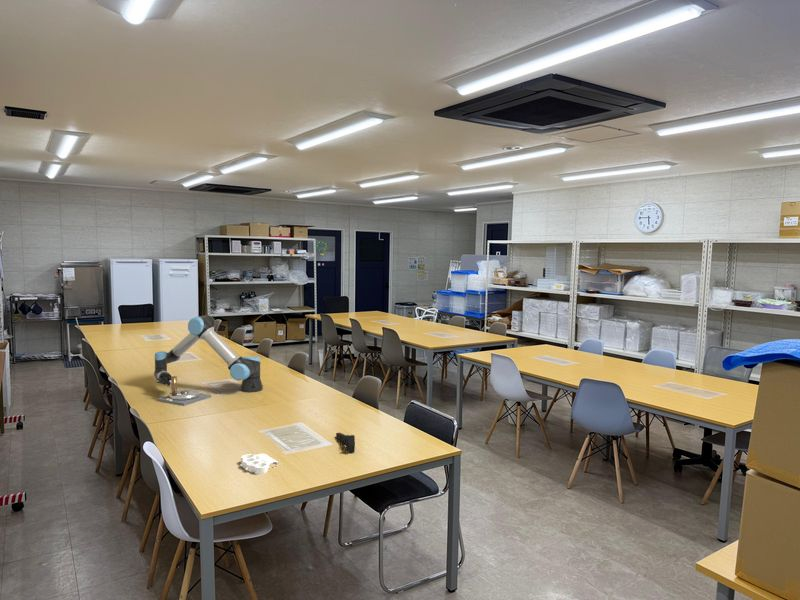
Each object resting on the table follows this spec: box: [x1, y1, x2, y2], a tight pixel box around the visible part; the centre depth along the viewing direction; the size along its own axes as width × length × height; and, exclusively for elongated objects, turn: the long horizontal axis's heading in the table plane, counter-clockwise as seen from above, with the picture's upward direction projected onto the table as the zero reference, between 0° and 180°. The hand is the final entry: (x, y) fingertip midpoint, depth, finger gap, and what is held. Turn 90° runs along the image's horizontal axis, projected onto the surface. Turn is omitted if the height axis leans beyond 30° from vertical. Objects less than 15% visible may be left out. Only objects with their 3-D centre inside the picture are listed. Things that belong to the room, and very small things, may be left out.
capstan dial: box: [168, 375, 200, 400], centre depth 341 cm, size 18×18×14 cm
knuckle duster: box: [239, 453, 279, 475], centre depth 237 cm, size 3×18×15 cm
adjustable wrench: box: [335, 432, 356, 454], centre depth 265 cm, size 8×3×25 cm
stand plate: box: [156, 392, 212, 407], centre depth 342 cm, size 23×23×2 cm
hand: (172, 384), depth 338 cm, fingers closed
